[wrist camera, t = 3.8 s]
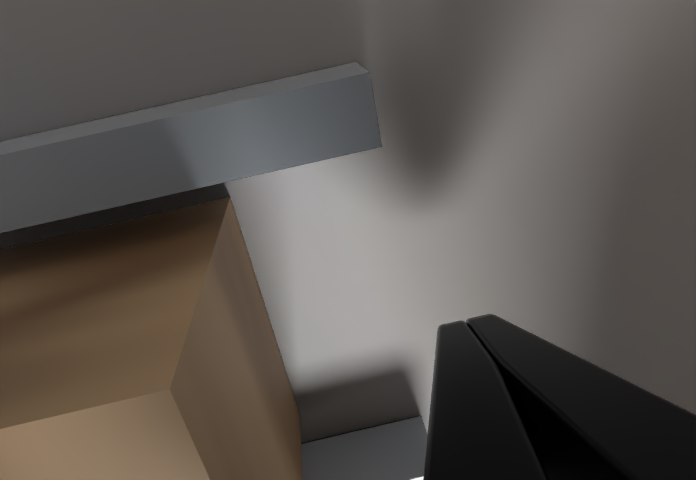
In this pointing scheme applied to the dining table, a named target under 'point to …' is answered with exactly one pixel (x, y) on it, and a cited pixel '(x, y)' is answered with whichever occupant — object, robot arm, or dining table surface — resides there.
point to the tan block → (142, 356)
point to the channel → (209, 169)
